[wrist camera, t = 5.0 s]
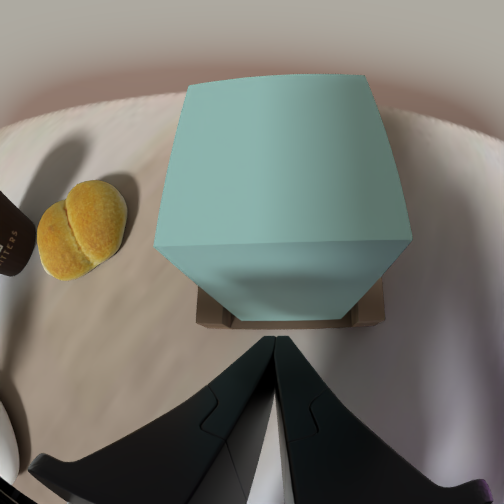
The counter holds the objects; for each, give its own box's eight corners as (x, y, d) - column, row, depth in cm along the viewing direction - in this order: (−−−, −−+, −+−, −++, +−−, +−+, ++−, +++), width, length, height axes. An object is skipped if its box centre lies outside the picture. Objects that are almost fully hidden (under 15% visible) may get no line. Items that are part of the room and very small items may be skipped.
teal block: (340, 319, 17) (412, 239, 6) (241, 320, 18) (153, 246, 7) (334, 227, 19) (364, 75, 8) (244, 230, 20) (188, 85, 9)
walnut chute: (373, 325, 17) (384, 320, 15) (208, 328, 19) (196, 322, 16) (350, 145, 22) (354, 124, 20) (222, 150, 24) (215, 130, 21)
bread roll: (145, 240, 22) (119, 217, 18) (63, 298, 21) (31, 285, 18) (117, 173, 25) (95, 147, 21) (48, 226, 24) (22, 207, 21)
